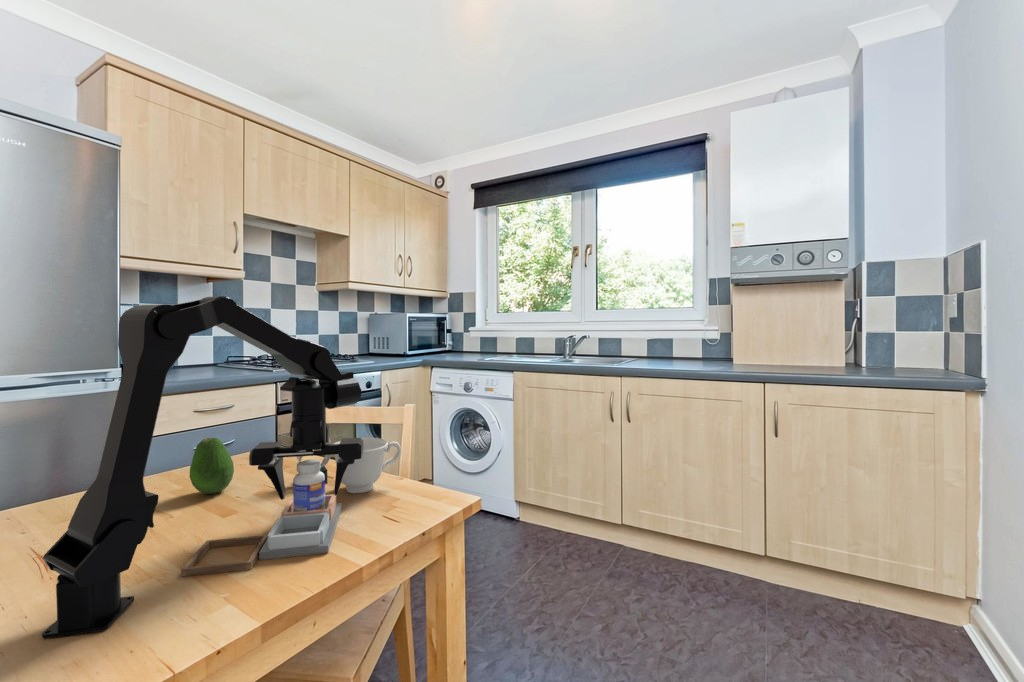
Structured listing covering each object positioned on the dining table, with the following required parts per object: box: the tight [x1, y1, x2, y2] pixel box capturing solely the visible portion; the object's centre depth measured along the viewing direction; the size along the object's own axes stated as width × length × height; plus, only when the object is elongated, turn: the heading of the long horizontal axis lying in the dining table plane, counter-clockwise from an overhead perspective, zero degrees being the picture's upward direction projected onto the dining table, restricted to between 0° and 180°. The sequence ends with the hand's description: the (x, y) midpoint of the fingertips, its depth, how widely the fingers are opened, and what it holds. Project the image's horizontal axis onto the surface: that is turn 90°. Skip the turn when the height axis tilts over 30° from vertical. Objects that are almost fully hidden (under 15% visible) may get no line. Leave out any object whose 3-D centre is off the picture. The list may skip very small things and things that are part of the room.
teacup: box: [333, 437, 402, 494], centre depth 103 cm, size 12×15×10 cm
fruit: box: [189, 436, 235, 495], centre depth 100 cm, size 8×8×12 cm
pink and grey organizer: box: [258, 493, 343, 561], centre depth 82 cm, size 18×10×3 cm, turn 14°
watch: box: [296, 438, 333, 485], centre depth 107 cm, size 6×8×11 cm
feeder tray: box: [180, 534, 268, 577], centre depth 73 cm, size 9×9×1 cm
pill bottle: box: [292, 459, 326, 512], centre depth 86 cm, size 5×5×10 cm
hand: (309, 496), depth 86 cm, fingers open, 9 cm apart
